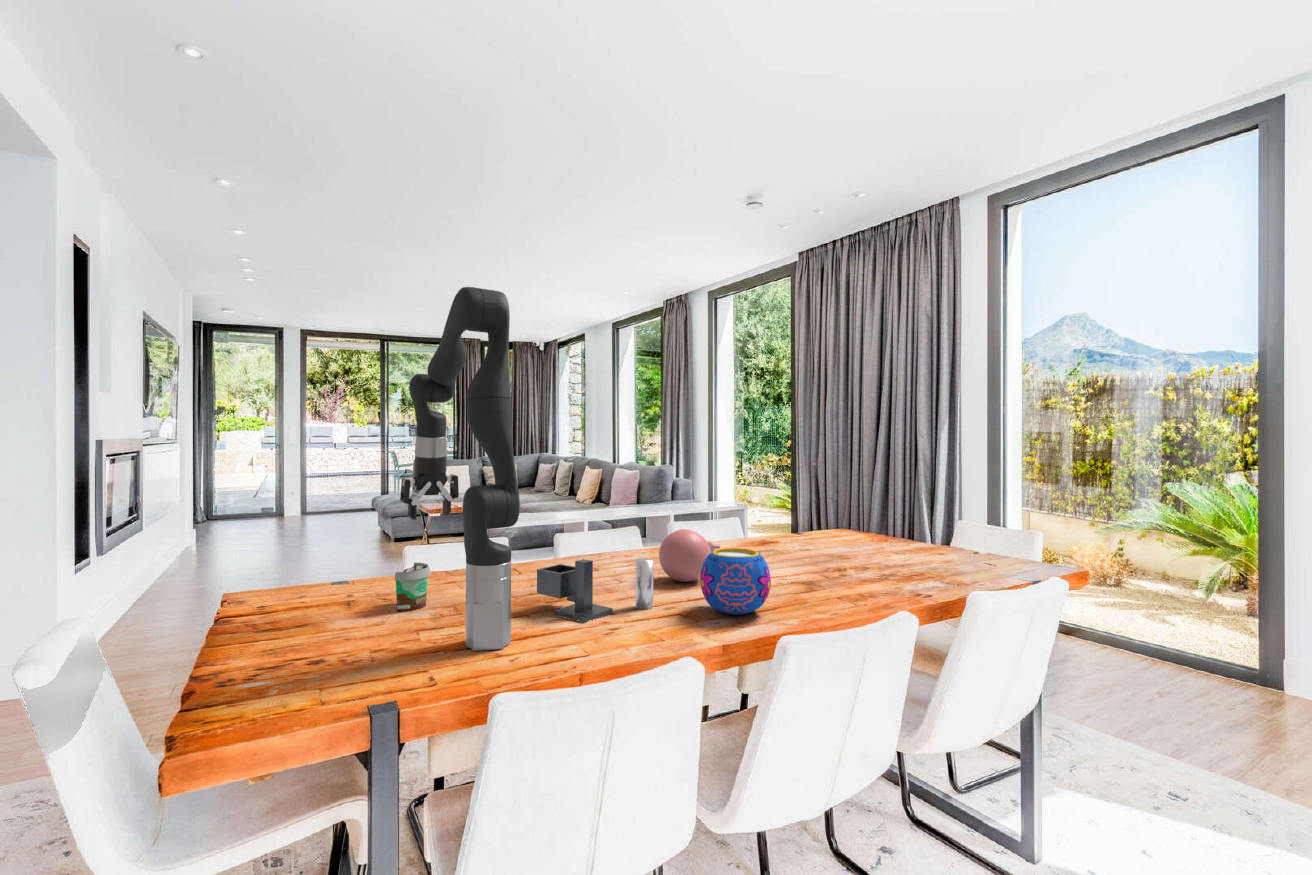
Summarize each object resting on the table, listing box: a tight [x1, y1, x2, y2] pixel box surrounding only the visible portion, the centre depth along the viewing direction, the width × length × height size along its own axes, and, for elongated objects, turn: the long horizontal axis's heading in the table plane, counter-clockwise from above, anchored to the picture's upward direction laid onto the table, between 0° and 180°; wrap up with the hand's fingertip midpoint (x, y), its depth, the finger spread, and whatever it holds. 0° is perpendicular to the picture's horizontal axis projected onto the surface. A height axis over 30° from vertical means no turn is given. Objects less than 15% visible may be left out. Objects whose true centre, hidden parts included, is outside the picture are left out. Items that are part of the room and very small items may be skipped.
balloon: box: [658, 529, 721, 583], centre depth 192 cm, size 15×20×15 cm
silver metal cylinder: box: [635, 557, 654, 610], centre depth 163 cm, size 4×4×12 cm
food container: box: [394, 562, 432, 613], centre depth 162 cm, size 12×6×10 cm, turn 179°
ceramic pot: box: [699, 547, 772, 616], centre depth 159 cm, size 18×18×15 cm
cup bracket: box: [536, 558, 614, 623], centre depth 158 cm, size 17×10×13 cm, turn 54°
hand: (429, 517), depth 163 cm, fingers open, 8 cm apart
